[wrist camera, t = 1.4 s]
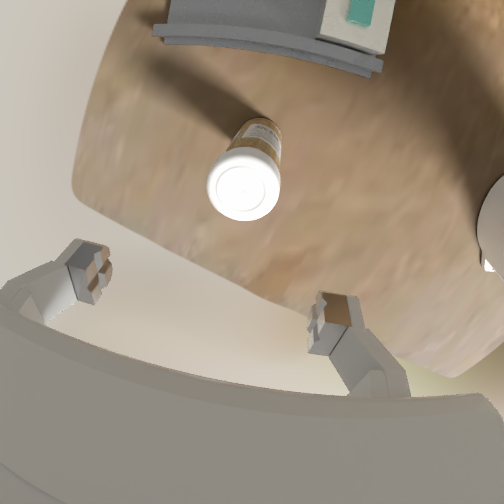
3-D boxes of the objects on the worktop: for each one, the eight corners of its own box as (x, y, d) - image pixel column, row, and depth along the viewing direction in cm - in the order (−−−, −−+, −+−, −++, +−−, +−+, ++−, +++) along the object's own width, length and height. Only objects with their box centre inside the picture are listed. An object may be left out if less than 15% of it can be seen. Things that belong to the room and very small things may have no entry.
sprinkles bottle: (229, 134, 28) (189, 184, 17) (264, 108, 26) (246, 139, 15) (257, 167, 30) (237, 235, 19) (292, 143, 28) (294, 198, 17)
